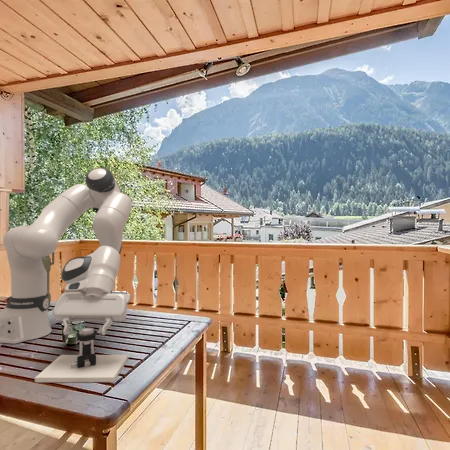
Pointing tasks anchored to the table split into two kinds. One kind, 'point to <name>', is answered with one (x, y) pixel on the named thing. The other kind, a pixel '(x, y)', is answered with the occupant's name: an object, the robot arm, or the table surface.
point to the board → (83, 369)
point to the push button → (86, 348)
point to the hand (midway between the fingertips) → (83, 334)
